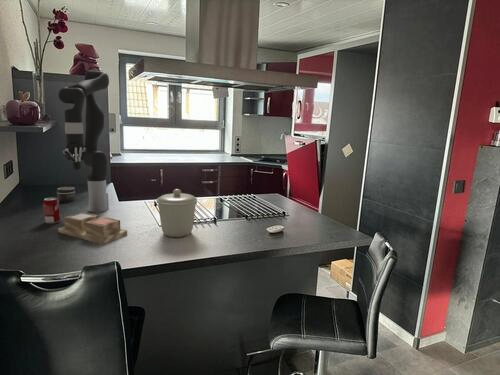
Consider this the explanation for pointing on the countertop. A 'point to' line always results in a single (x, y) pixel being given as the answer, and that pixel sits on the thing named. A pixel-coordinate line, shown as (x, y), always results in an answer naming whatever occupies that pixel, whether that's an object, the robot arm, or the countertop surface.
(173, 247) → the countertop surface
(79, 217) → the white key
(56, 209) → the soda can
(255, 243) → the countertop surface
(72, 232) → the frame
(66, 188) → the jar
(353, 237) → the countertop surface
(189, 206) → the canister
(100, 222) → the red key
